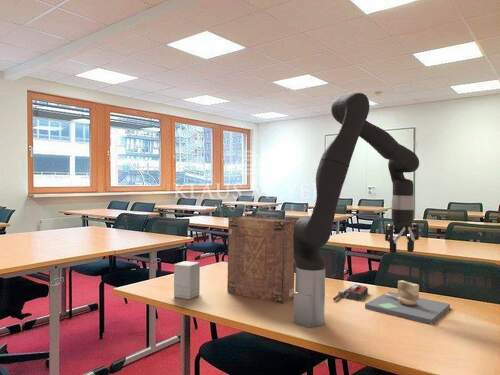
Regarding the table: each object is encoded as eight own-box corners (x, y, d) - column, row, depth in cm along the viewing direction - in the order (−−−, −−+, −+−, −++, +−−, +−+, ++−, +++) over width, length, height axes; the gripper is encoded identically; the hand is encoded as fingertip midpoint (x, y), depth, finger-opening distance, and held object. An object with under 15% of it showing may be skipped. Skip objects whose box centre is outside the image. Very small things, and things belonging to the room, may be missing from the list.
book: (226, 292, 150) (227, 217, 149) (239, 286, 157) (241, 215, 157) (282, 303, 136) (284, 221, 135) (294, 297, 143) (295, 219, 143)
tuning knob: (422, 304, 131) (422, 284, 131) (410, 306, 129) (410, 286, 129) (391, 294, 143) (391, 275, 143) (379, 296, 140) (380, 277, 140)
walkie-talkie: (348, 290, 156) (331, 302, 140) (348, 279, 156) (331, 290, 140) (369, 293, 152) (354, 306, 135) (369, 282, 152) (354, 294, 135)
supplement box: (200, 294, 145) (200, 262, 145) (189, 299, 139) (189, 266, 138) (184, 292, 148) (184, 260, 148) (173, 297, 142) (173, 263, 142)
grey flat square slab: (431, 324, 118) (431, 319, 118) (364, 308, 132) (365, 303, 132) (449, 308, 134) (450, 303, 134) (389, 295, 149) (389, 291, 149)
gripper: (396, 209, 129) (395, 255, 129) (425, 208, 135) (424, 253, 135) (380, 207, 136) (379, 252, 136) (408, 207, 142) (407, 249, 142)
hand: (401, 252), depth 136 cm, fingers open, 8 cm apart
